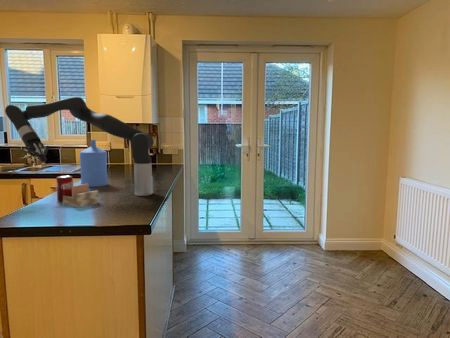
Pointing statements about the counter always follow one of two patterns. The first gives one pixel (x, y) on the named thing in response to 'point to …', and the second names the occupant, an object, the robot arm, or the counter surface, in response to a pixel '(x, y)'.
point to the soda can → (64, 187)
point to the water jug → (93, 166)
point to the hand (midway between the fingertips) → (44, 161)
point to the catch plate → (79, 189)
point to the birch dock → (82, 199)
